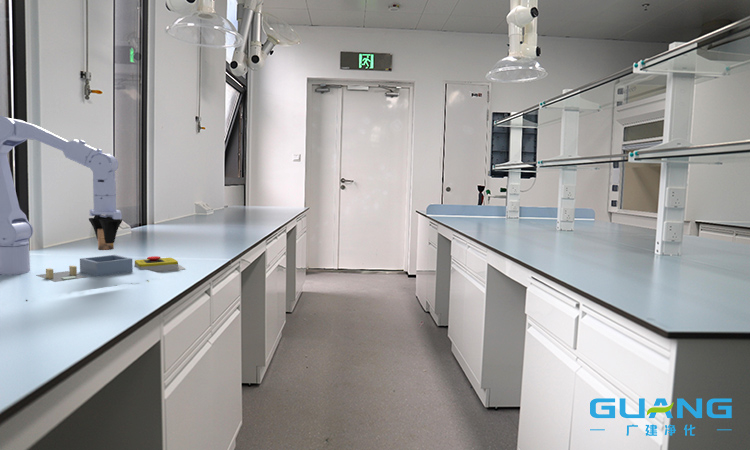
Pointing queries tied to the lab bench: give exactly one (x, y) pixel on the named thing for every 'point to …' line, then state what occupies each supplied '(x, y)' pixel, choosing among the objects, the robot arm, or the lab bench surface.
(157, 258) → the emergency button
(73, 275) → the checker cradle
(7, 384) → the lab bench surface
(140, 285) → the lab bench surface
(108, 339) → the lab bench surface
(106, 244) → the copper cell
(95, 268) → the grey open box
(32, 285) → the lab bench surface
